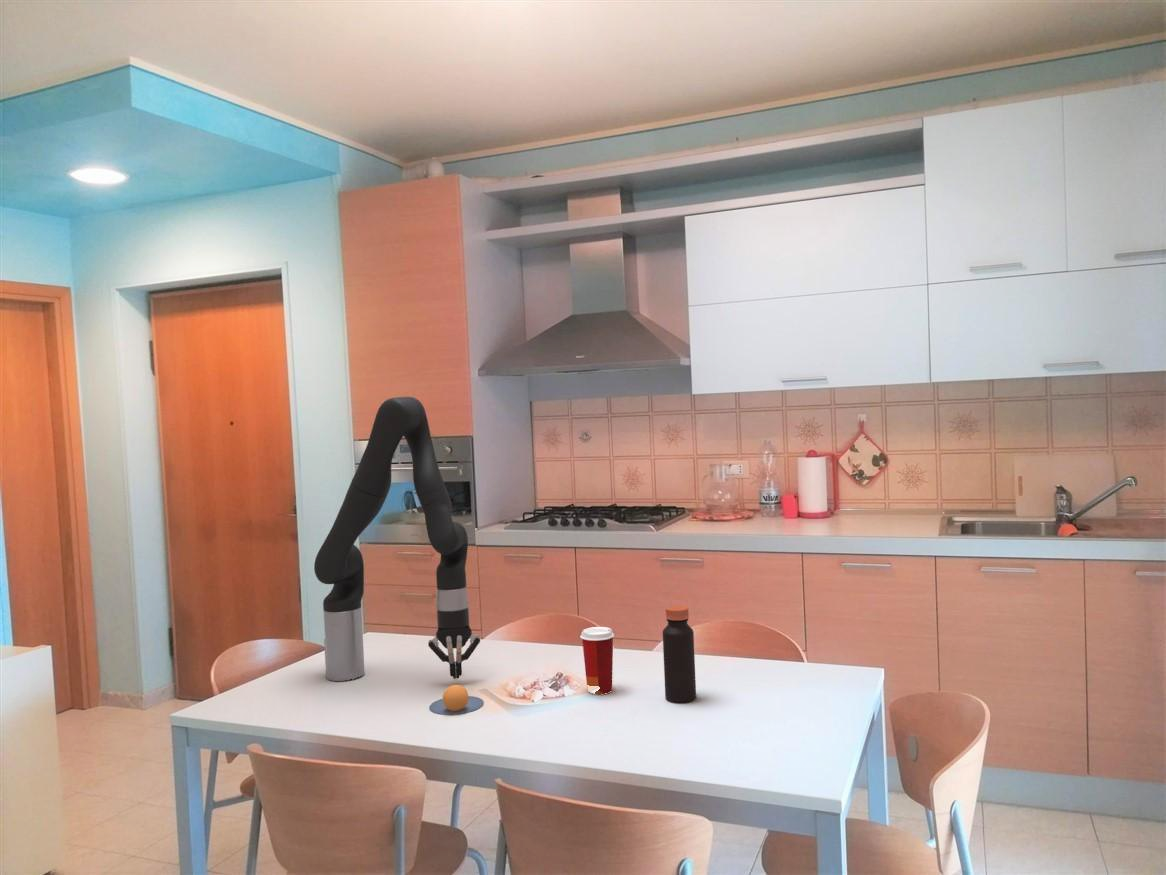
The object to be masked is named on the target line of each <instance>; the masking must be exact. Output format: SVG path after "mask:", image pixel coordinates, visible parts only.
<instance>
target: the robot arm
mask: <svg viewBox="0 0 1166 875" xmlns="http://www.w3.org/2000/svg"><path fill="white" fill-rule="evenodd" d="M403 437H404V439H405V441H406V444H407V445H408V448H409V451H410V454H411V460H412V461H411V462H412V479H413V486H414V487H413V488H414V490H415V492H416V496H417V498H418V502H419V505H420V507H421V509H422V511H423V514H424V519H425V526H426V531H427V537H428V540H429V543H430V546H432V548H433V550H435V552H436V553H438V554H440V562H439V564H438V565H437V567H436V570H435V574H436V599H435V600H436V602H435V603H436V604H435V605H436V606H435V607H436V618H437V630H436V632H435V633H436V634H435V636H434V637H433V638H432V639H429V640H428V642H427V645H428V647H429V649H431V651H432V652H434V654H435V655H436V656H437V658H439V659H440V660H441V662H443V663H444V662H446V663H448V665H449V675H450V677H452V679H454V680H455V679H456V680H457V679H460V677H461V676H463V667H462V663H463V662H464V661H468V659H469V658H470V657H471V656H472V654H473V653H474V651H475V649H476V648H477V647H478V645H479V644H480V643H481V637H480V636H479V635H475V634H474V633H472V632H473V631H472V629H471V626H470V615H469V614H470V613H469V612H470V611H469V595H468V590H467V577H466V576H467V574H466V565H467V556H468V546H469V537H468V533H467V529H465V527H464V526H463V524H461V523H459V522H456V521H453V519H452V518H453V517H452V514H451V510H452V507H453V506H452V505H453V504H452V501H451V498H450V494H449V492H448V490H447V487H446V484H445V482H444V480H443V476H442V473H441V470H440V467H439V464H438V461H437V456H436V452H435V449H434V448H435V447H434V445H433V439H432V435H431V431H430V425H429V421H428V417H427V413H426V410H425V407H424V405H423V403H422V402H421V401H420V400H419V399H418V398H415V397H413V396H399V397H392V398H388V399H386V400H384V402H382V403H381V404H380V406H379V407H378V409H377V412H376V414H375V417H374V420H373V424H372V428H371V432H370V435H369V437H368V442H367V445H366V446H365V450H364V452H363V453H362V456H361V458H360V461H359V464H358V466H357V469H356V470H355V473H354V475H353V476H352V479H351V482H350V484H349V486H348V489H347V492H346V494H345V496H344V499H343V501H342V504H341V506H340V508H339V511H338V513H337V515H336V518H335V520H334V521H333V525H332V526H331V529H330V530H329V531H328V535H327V536H326V537H325V539H324V541H323V543H322V544H321V546H320V548H319V550H318V552H317V554H316V557H315V560H314V565H313V566H314V574H315V577H316V578H317V580H318V581H319V582H320V583H321V584H324V585H333V587H331V588H332V589H331V590H330V592H329V593H328V595H326V596H325V597H324V599H323V602H322V606H323V609H322V610H323V623H324V624H323V625H324V626H323V627H324V639H323V640H324V641H323V642H324V644H323V645H324V661H325V662H324V663H325V675H326V679H327V680H329V681H334V682H341V681H342V682H344V681H345V680H346V681H351V680H350V679H352V680H356V679H358V678H357V677H359V678H361V677H363V676H365V674H364V673H366V670H365V653H364V652H365V651H364V633H363V632H364V630H363V617H362V615H363V614H362V612H363V611H362V599H363V597H364V590H365V568H364V567H365V564H364V558H363V555H362V552H361V550H360V549H359V548H358V546H357V545H355V542H356V541H357V539H358V538H359V537H360V535H361V534H362V533H363V532H364V530H366V528H367V527H368V526H369V525H370V524H371V523H372V521H373V520H375V518H376V517H377V516H378V514H379V513H380V511H381V509H382V508H383V506H384V503H385V501H386V499H387V497H388V494H389V493H390V492H389V491H390V490H391V485H392V462H393V458H394V455H395V452H396V451H397V448H398V446H399V444H400V442H401V440H402V439H403ZM468 641H469V643H470V644H469V646H468V647H467V648H466V650H465V651H464V653H462V650H463V649H462V648H463V647H465V646H466V643H467V642H468ZM440 643H441V645H442V646H443V647H444V648H445V649H447V654H446V653H445V652H444V651H443V650H442V649H441V648H440V646H439V645H440ZM454 649H456V650H455V651H456V653H454ZM454 654H456V655H454ZM455 657H456V658H455ZM362 675H363V676H362ZM360 676H361V677H360ZM355 678H356V679H355Z"/></svg>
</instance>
